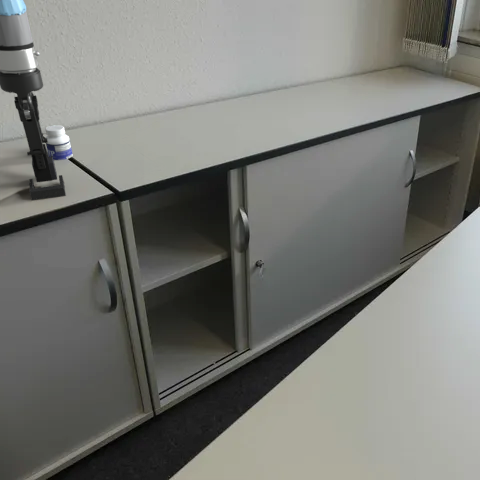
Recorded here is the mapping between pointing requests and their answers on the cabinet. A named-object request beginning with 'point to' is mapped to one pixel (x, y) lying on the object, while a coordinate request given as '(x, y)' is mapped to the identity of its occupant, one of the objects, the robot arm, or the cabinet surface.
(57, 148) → the pill bottle
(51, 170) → the pad block
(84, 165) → the cabinet surface
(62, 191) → the dark grey u-shaped piece
